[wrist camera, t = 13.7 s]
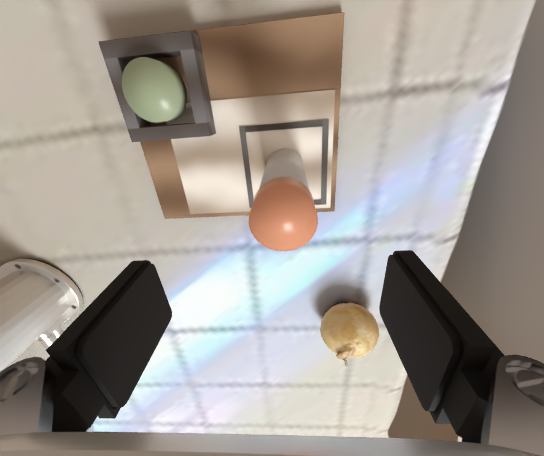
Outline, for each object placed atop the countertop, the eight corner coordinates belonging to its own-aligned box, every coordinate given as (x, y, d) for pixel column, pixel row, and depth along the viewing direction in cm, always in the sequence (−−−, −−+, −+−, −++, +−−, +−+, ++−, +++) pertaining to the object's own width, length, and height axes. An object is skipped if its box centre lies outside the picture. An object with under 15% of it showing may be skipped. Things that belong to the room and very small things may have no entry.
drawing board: (333, 208, 29) (337, 219, 26) (167, 216, 31) (156, 226, 28) (342, 15, 20) (350, 2, 18) (113, 42, 22) (90, 34, 20)
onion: (330, 288, 35) (340, 329, 29) (380, 302, 35) (400, 345, 29) (311, 323, 39) (315, 367, 32) (356, 335, 39) (369, 380, 33)
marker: (304, 184, 27) (317, 250, 15) (267, 187, 27) (253, 252, 16) (303, 146, 25) (318, 187, 13) (263, 149, 25) (244, 192, 14)
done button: (192, 118, 23) (184, 120, 21) (145, 122, 23) (133, 124, 21) (179, 57, 21) (169, 53, 19) (127, 63, 21) (112, 60, 19)
